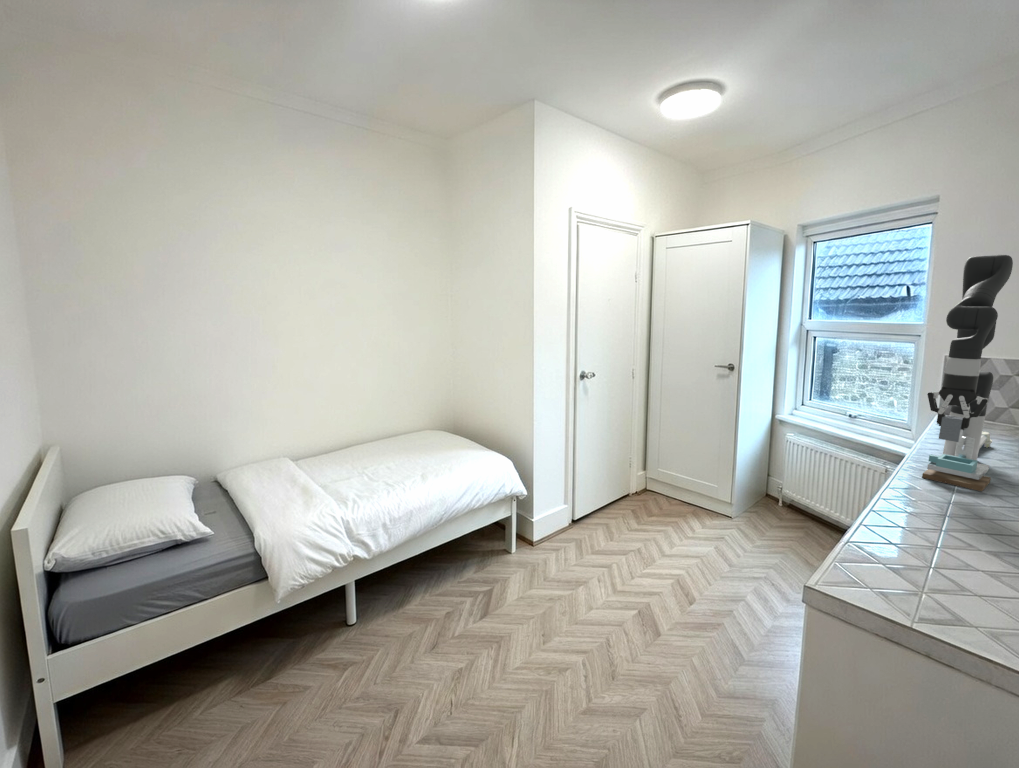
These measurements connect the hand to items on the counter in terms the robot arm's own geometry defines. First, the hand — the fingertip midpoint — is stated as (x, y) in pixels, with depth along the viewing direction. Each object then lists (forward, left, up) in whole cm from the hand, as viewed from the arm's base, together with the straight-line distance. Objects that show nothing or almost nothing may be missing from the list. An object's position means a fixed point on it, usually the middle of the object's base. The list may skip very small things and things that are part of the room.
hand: (951, 427), depth 142 cm
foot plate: (-10, +2, -19) cm, 21 cm away
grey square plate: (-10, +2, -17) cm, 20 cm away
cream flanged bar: (-63, -1, -19) cm, 66 cm away
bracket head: (-6, 0, -14) cm, 15 cm away
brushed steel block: (0, 0, -4) cm, 4 cm away
